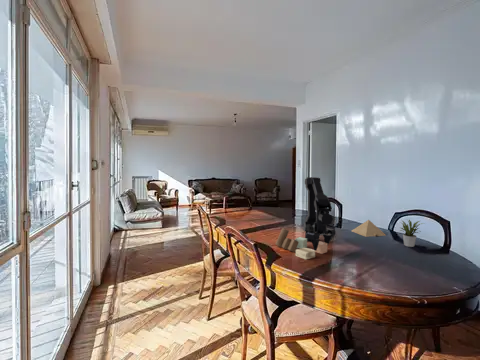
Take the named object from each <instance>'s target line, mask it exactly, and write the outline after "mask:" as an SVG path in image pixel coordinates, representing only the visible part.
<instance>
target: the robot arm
mask: <svg viewBox="0 0 480 360" xmlns="http://www.w3.org/2000/svg"><path fill="white" fill-rule="evenodd" d="M304 185H305V189H306V190H307V215H306V217H305V220H304V223H303V227H302V229H303V231H304V232H305V234H304V235H305V236H304V238H307V242H310V243H311V244H312V247H313V250H315V251H316V250H317V247H318V244H319V241H320V236H323V238H324V239H323V240H324V241H323V242H325V243H328V244H327V247H328V246H329V244H330V243H331V241H332V239H333V237H335V235H336V230H335V229H333V228H329V227H328V226H329V225H331V224H332V223H333V220H334V218H333V216H332V215H331V214H330V213H331V212H332V210H333V209H332V208H333V207H332V204H331V202H330V200H329V197H328V195H326V194H324V190H323V187H322V184H321V177H317V176H312V177H311V176H307V177H306V178H304Z"/></svg>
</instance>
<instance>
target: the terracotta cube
mask: <svg viewBox="0 0 480 360" xmlns="http://www.w3.org/2000/svg"><path fill="white" fill-rule="evenodd" d="M327 244H328V243H325V242H324V241H320V240H319V244H318V247H317V250H316V251H315V250H314V249H313V250H314V251H315V253H318V254H321V255H323V254H325V253H328V246H327ZM328 245H329V244H328Z"/></svg>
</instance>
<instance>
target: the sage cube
mask: <svg viewBox="0 0 480 360" xmlns="http://www.w3.org/2000/svg"><path fill="white" fill-rule="evenodd" d="M294 240H296V241H298V242H299V243H298V245H297V247H296V249H301V248H308V241H307V238H305V237H300V236H299V237H297V238H294Z"/></svg>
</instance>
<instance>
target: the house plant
mask: <svg viewBox="0 0 480 360" xmlns="http://www.w3.org/2000/svg"><path fill="white" fill-rule="evenodd" d="M401 223H402V227H400V230H399V232H403V234H402V238H403V245H404V246H406V247H409V248H412V247H413V248H414V247H415V245H416V241H417V235H416V234H419V233H421V232H422V231H421V230H419V231H418V229H420V227H419V226H420V225H423V224H425V225H426V222H425V223H424V222H422V223H420V220H417V221H415V222H413V224H412V220H410V219H408V220H407V223H406V221H404V220H401ZM404 231H405V232H404Z"/></svg>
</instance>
